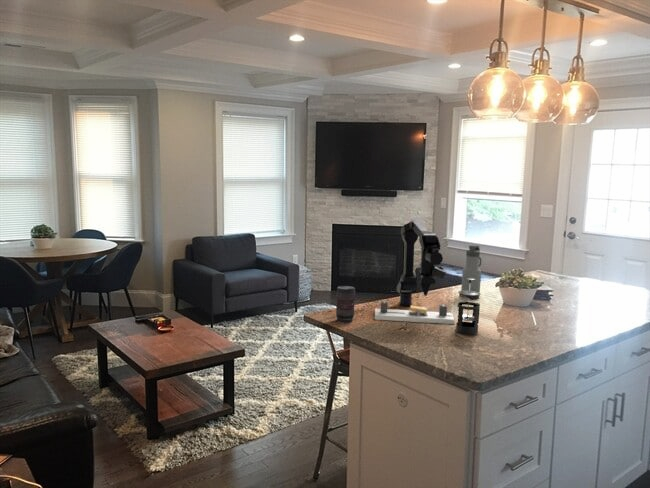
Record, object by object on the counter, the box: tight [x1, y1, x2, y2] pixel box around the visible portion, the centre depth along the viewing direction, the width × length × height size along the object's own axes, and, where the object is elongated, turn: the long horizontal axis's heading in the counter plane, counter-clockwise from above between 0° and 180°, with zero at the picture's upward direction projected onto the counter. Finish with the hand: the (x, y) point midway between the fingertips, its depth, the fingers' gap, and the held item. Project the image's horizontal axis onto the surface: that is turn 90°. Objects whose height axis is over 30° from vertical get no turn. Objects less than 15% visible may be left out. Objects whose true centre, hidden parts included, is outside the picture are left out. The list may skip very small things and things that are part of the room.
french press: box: [454, 278, 481, 336], centre depth 228 cm, size 12×9×23 cm
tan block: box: [409, 304, 428, 314], centre depth 248 cm, size 5×7×2 cm
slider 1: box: [380, 301, 389, 312], centre depth 249 cm, size 3×3×4 cm
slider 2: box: [438, 304, 448, 316], centre depth 247 cm, size 3×3×4 cm
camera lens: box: [335, 285, 356, 324], centre depth 240 cm, size 8×8×15 cm
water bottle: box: [460, 244, 482, 299], centre depth 295 cm, size 10×10×28 cm
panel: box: [374, 308, 455, 325], centre depth 248 cm, size 12×35×4 cm, turn 84°
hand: (425, 295), depth 247 cm, fingers closed
